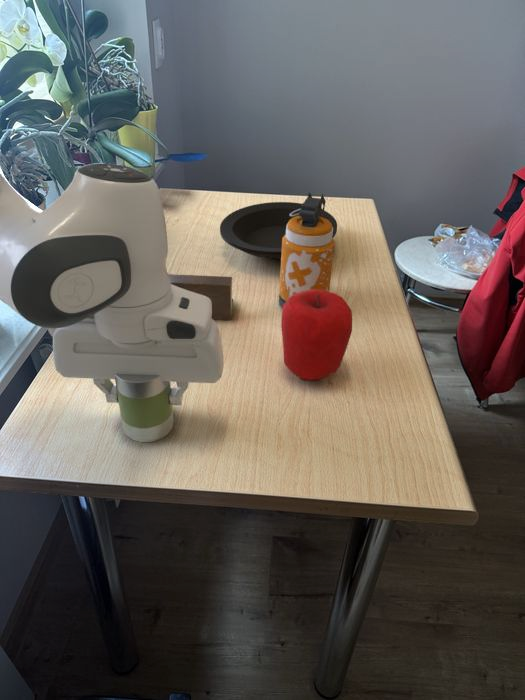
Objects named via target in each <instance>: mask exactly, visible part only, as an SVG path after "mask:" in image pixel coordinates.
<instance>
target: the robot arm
mask: <svg viewBox="0 0 525 700" xmlns="http://www.w3.org/2000/svg"><path fill="white" fill-rule="evenodd" d="M163 205H164V204H163V201H162V198H161V193H160V191H159V188H158V185H157V183H156V181H155V179H154V178H152V177H151V176H150V175H149V174H147V173H145V172H143V171H140V170H139V169H136V168H133V167H131V166H128V165H120V164H116V163H107V162H106V163H105V162H96V163H88V164H86V165H82V166H80V167H78V168H77V169H76V171H75V173H74V175H73V179H72V181H71V182H70V184H69V185H68V186H67V187H66V188H65V190H64V191H63V192H62V193H61V194H60V196H59V197H57V198H56V200H54V201H53V202H52V203H51V204H49V206H47V207H46V208H45V209H43V210H42V209H40V208H38V207H37V206H36V205H35V204H33V203H32V202H31V201H29V200H28V199H27V198H25V197H24V196H23V195H21V194H20V193H19V192H18V191H17V190H16V189H15V188H14V187H13V186H12V185H11V184H10V182H9V181H8V179H6V177H5V175H4V172H3V171H2V169H1V167H0V301H1V302H2V303H4V304H5V305H7V306H8V307H9V308H11V310H13V311H14V312H16V313H17V314H18V315H19V316H21V317H22V318H24V319H25V321H27V322H29V323H31V324H33V325H35V326H38V327H40V328H45V329H47V331H48V333H49V334H50V336H51V337H52V357H53V364H54V368H55V371H56V372H57V373H58V374H59V375H60V376H62V377H63V378H71V379H72V378H73V379H92V381H93V384H94V385H95V386H96V387H97V388H98V389H99V390H100V391H101V392H102V393H103V394H105V395H104V396H105V400H106V403H107V404H108V403H110V404H119V403H118V397H117V391H116V384H114V383H113V382H112V381H111V380H115V374H133V375H158V376H160V377H161V380H162V381H168V382H170V383H176V386H171V392H170V394H169V400H170V405H172V406H179V407H180V406H182V404H183V400H184V394H185V392H186V391H187V389H188V388H189V385H190V383H192V384H193V383H197V384H216V383H218V381H220V380H221V378H222V377H223V374H224V373H223V372H224V363H225V359H224V356H225V355H224V347H223V340H222V335H221V331H220V327H219V326H218V324H217V322H216V321H215V320H213V319H212V318H211V317H212V303H211V300H210V299H209V298H208V297H206V296H204V295H200V294H197V293H194V292H191V291H188V290H185V289H182V288H180V287H177V286H174V285H172V284H171V281H170V277H169V275H168V274H169V273H168V270H167V257H168V254H169V244H168V232H167V223H166V216H165V209H164V206H163Z"/></svg>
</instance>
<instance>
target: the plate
mask: <svg viewBox="0 0 525 700" xmlns="http://www.w3.org/2000/svg"><path fill="white" fill-rule="evenodd" d="M302 204H303V203H300V202H292V201H291V202H290V201H273V202H263V203H256V204H251V205H247V206H245V207H241V208H239V209H237V210H234V211H232V212H231V213H229V214H227V215H226V216H225V217H224V218H223V219H222V221H221V222H220V225H219V234H220V237H221V238H222V240H223V241H224V242H225V243H226V244H227V245H229V246H231V247H233V248H234V249H236V250H239V251H241V252H244V253H245V254H248V255H250V256H255V257H260V258H266V259H276V260H281V253H282V238H283V236H284V235H286V225H287V224H288V222H289V220H290V219H292V218H293V217H296V216H299V215H296V216H290V213H292V212H293V211H295V210H298V209H301V205H302ZM299 211H300V210H299ZM299 211H296V212H294V213H293V214H291V215H294V214H297V213H299ZM323 218H325V219H327V220H328V221H330V222H331V224H332V227H333V236H332V238H333V239H334V238H335V236H336V234H337V232H338V222H337V220H336V218H335V217H334V216H333V215H332V214H331V213H330V212H328V211H326V210H324V215H323Z"/></svg>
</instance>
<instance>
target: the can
mask: <svg viewBox="0 0 525 700" xmlns="http://www.w3.org/2000/svg"><path fill="white" fill-rule="evenodd" d="M114 382H115V385H116V391H117V397H118V403H117V404H118V408H119V413H120V419H121V423H122V428H123V429H122V430H123V432H124V434H125V435H126V436H127V438H129V439H130V440H132V441H135V442H138V443H151V442H156V441H159V440H161V439H163V438H165V437H166V436H167V435H168V434H169V433H170V432H171V431H172V430H173V427H174V413H173V412H174V411H173V405H170V400H169V394H170V392H171V387H172V386H171V382H168V381H162V380H161V377H160V376H158V375H133V374H115V379H114Z"/></svg>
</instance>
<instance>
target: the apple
mask: <svg viewBox="0 0 525 700" xmlns="http://www.w3.org/2000/svg"><path fill="white" fill-rule="evenodd" d="M281 309H282V310H281V321H280V326H281V327H280V328H281V338H282V351H283V363H284V365H285V366H286V368H287V369H288V370H289V371H290V372H291V373H292V374H293V375H295V376H296V377H297V378H299V379H301V380H305V381H316V380H320V379H323V378H327V377H329V376H331V375H332V374H334V373H336V372H337V371H338V370H339V368H340V367H341V365H342V362H343V359H344V356H345V354H346V351H347V349H348V345H349V342H350V338H351V336H352V332H353V311H352V309H351V308H350V306H349V304H348V303H347V301H346V300H345V299H344V298H343V296H342V295H339V294H338V293H337V294H336V293H335V292H332V291H330V290H329V291H326V290H316V289H312V290H307V291H302V292H299V293H296V294H294V295H293V296H291V297H290V298H289V299H288V300H287V301H286V303H285V304H284V305H283V307H281Z"/></svg>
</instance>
